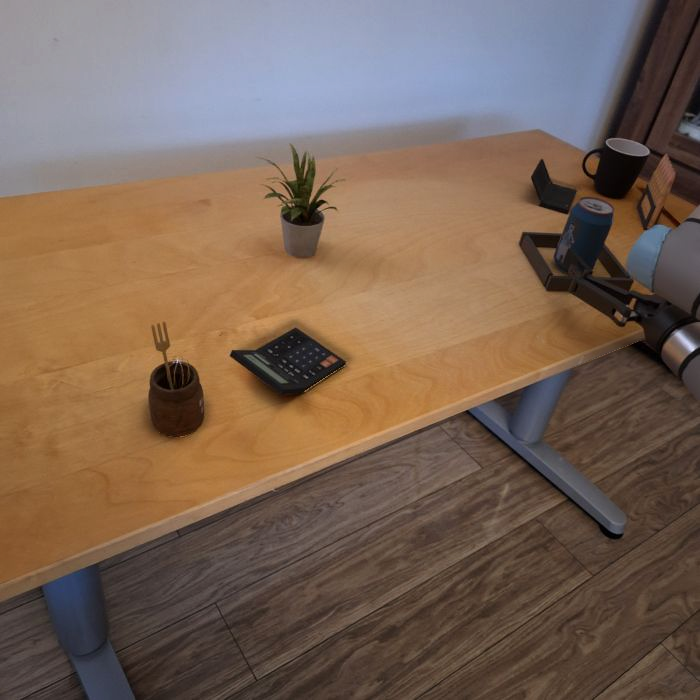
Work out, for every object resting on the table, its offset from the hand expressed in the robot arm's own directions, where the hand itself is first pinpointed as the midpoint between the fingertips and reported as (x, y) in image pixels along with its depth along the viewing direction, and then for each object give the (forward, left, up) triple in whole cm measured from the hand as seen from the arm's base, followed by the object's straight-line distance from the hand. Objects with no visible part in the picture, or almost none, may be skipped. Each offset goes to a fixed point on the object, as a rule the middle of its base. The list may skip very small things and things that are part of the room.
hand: (605, 254), depth 98 cm
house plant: (+48, -10, -7) cm, 50 cm away
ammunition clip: (-24, -26, -7) cm, 36 cm away
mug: (-20, -38, -7) cm, 44 cm away
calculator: (+50, +20, -7) cm, 55 cm away
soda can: (0, -7, -7) cm, 10 cm away
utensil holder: (+63, +29, -7) cm, 70 cm away
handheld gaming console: (-6, -33, -7) cm, 35 cm away
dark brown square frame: (0, -7, -7) cm, 10 cm away
